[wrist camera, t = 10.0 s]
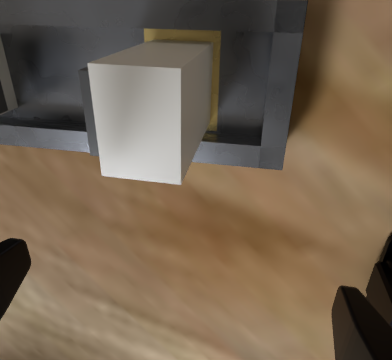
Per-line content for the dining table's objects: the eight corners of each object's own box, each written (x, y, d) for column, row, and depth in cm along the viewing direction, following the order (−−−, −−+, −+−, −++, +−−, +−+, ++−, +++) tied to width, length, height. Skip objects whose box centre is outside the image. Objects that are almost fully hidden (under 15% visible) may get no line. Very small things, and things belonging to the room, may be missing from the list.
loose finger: (213, 42, 16) (180, 68, 10) (209, 121, 18) (180, 184, 12) (137, 38, 17) (63, 61, 11) (142, 116, 19) (81, 173, 13)
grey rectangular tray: (301, 0, 16) (307, 0, 13) (280, 147, 20) (282, 170, 17) (-76, -6, 19) (-129, -6, 17) (-34, 121, 23) (-73, 137, 20)
